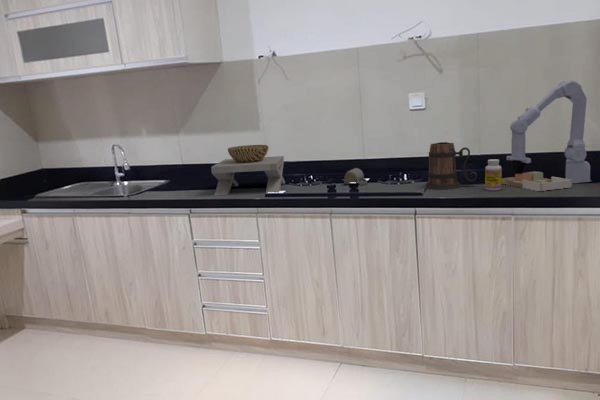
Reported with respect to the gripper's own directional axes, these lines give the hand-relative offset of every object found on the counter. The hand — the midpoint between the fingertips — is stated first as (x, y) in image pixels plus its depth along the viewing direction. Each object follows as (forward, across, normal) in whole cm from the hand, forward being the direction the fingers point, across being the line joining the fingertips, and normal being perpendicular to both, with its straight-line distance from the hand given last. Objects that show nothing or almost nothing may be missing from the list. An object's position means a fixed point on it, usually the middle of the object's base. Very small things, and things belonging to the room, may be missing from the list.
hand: (518, 177), depth 243 cm
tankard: (+3, -12, -27) cm, 30 cm away
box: (+3, +15, +3) cm, 15 cm away
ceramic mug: (+3, -45, -60) cm, 75 cm away
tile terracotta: (+1, +4, 0) cm, 4 cm away
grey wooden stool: (+3, -66, -110) cm, 128 cm away
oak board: (+3, +1, +3) cm, 4 cm away
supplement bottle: (+3, +5, -16) cm, 17 cm away
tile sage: (+1, +3, +6) cm, 7 cm away
